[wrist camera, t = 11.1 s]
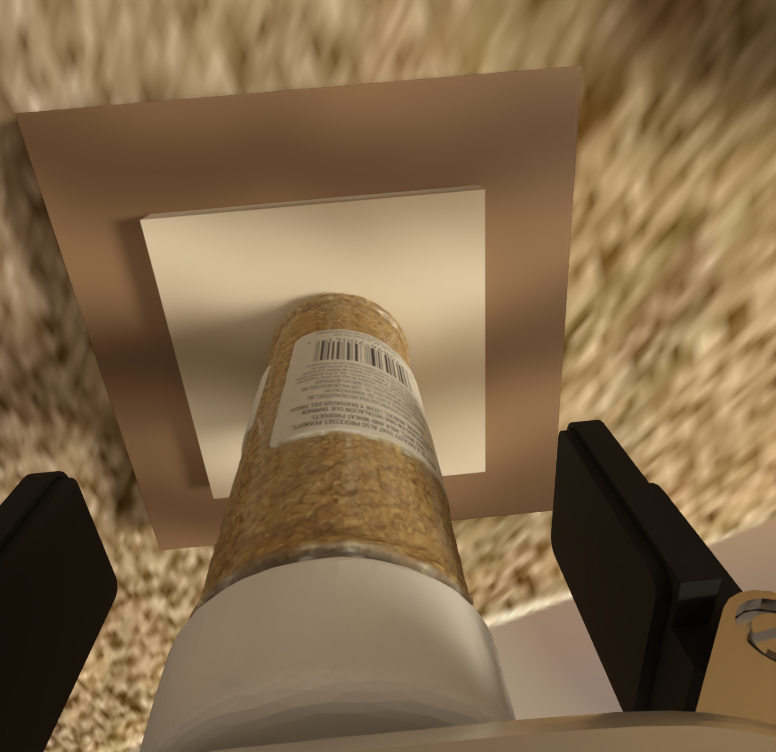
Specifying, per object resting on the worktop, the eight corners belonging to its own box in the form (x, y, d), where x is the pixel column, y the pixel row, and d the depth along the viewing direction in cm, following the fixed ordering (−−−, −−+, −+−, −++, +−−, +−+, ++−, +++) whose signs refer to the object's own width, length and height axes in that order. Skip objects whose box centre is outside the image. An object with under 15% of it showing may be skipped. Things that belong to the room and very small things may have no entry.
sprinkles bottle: (244, 370, 18) (40, 878, 6) (325, 259, 17) (272, 627, 5) (356, 440, 20) (372, 966, 8) (440, 342, 18) (623, 792, 6)
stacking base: (49, 112, 17) (-6, 113, 15) (558, 69, 18) (595, 62, 15) (174, 517, 24) (152, 569, 22) (538, 480, 25) (560, 527, 22)
